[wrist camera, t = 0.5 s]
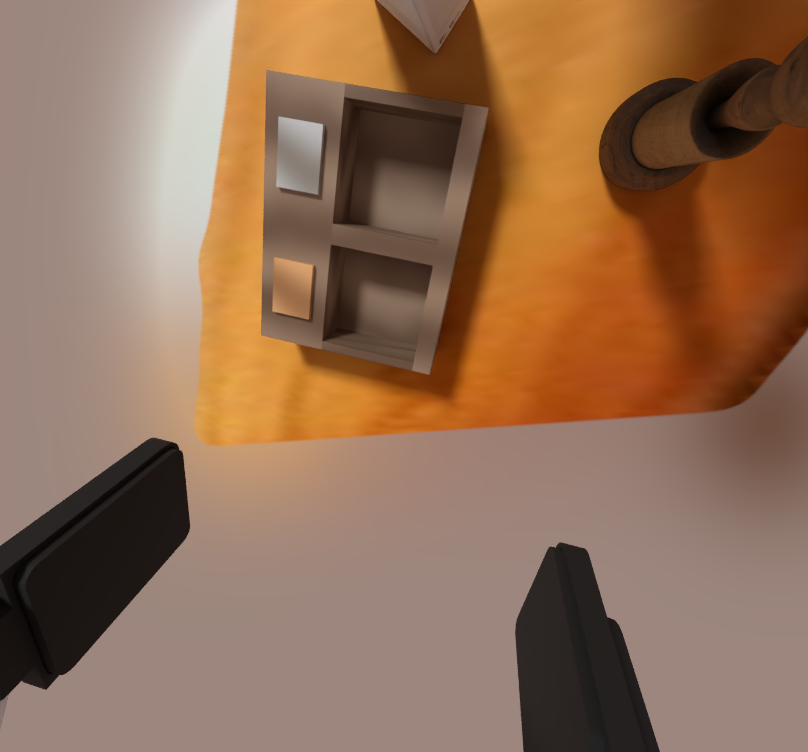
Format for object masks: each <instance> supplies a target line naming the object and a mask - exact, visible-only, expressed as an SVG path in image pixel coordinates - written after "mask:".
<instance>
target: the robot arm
mask: <svg viewBox="0 0 808 752" xmlns="http://www.w3.org/2000/svg"><path fill="white" fill-rule="evenodd" d="M189 521H190V520H189V510H188V500H187V490H186V479H185V470H184V459H183V453H182V451H180V450H179V447H178V445H177V444H176V443H173V442H169V441H165V440H161V439H157V438H151V439H149V440H147V441H145V442H144V443H142V444H141V445H140V446H138V447H137V448H135V449H134V450H133V451H131V452H130V453H129V454H127V455H126V456H124V457H123V458H122V459H120V460H119V461H117V462H116V463H115V464H113V465H112V466H110V467H109V468H108V469H106V470H105V471H104V472H102V473H101V474H99V475H98V476H97V477H95V478H94V479H92V480H91V481H90V482H88V483H87V484H86V485H84V486H83V487H81V488H80V489H79V490H78V491H76V492H74V493H73V494H72V495H70V496H69V497H67V498H66V499H65V500H63V501H62V502H61V503H59V504H58V505H56V506H55V507H54V508H52V509H51V510H49V512H47V513H45V514H44V515H42V516H41V517H40V518H38V519H37V520H36V521H34V522H33V523H32V524H30V525H29V526H27V527H26V528H25V529H23V530H22V531H20V532H19V533H18V534H16V535H15V536H13V537H12V538H11V539H9V540H8V541H7V542H5V543H4V544H2V545H1V546H0V728H1V724H2V720H3V716H4V712H5V707H6V703H7V699H8V695H9V693H10V692H11V691H12V690H13V689H14V688H15V687H16V686H17V685H18V684H19V683H20V681H23V682H25V683H28V684H30V685H33V686H36V687H39V688H42V689H45V690H46V689H47V688H48V687H49V686H50V685H51V684H52V682H54V680H55V679H56V678H57V677H58V676H59V675H63V674H65V673H67V672H68V671H70V670H71V669H72V668H73V667H74V666H75V665H76V664H77V662H78V661H79V660H80V659H81V658H82V657H83V656H84V654H85V653H86V652H87V651H88V650H89V649H90V648H91V647H92V645H93V644H94V643H95V642H96V641H97V640H98V639H99V637H100V636H101V635H102V634H103V633H104V632H105V631H106V629H107V628H108V627H109V626H110V625H111V624H112V623H113V621H114V620H115V619H116V618H117V617H118V616H119V615H120V613H121V612H122V611H123V610H124V609H125V608H126V606H127V605H128V604H129V603H130V602H131V601H132V600H133V598H134V597H135V596H136V595H137V594H138V593H139V592H140V590H141V589H142V588H143V587H144V586H145V585H146V584H147V582H148V581H149V580H150V579H151V578H152V577H153V576H154V574H155V573H156V572H157V571H158V570H159V569H160V568H161V566H162V565H163V564H164V563H165V562H166V561H167V560H168V558H169V557H170V556H171V555H172V554H173V553H174V551H175V550H176V549H177V548H178V547H179V546H180V545H181V544H182V542H183V541H184V540H185V539H186V537H187V535H188V533H189V529H190V522H189ZM515 636H516V649H517V664H518V677H519V692H520V706H521V721H522V735H523V749H524V752H660V751H659V748H658V744H657V742H656V738H655V735H654V732H653V729H652V726H651V722H650V719H649V716H648V713H647V710H646V706H645V703H644V700H643V697H642V694H641V691H640V688H639V685H638V681H637V678H636V675H635V672H634V668H633V665H632V662H631V659H630V656H629V653H628V649H627V646H626V643H625V640H624V637H623V634H622V631H621V629H620V627H619V625H618V624H617V622H616V621H615V620H613V619H611V618H608V617H607V615H606V612H605V609H604V605H603V602H602V598H601V595H600V591H599V588H598V585H597V581H596V578H595V574H594V571H593V567H592V564H591V561H590V557H589V554H588V552H587V550H586V549H584V548H580V547H577V546H573V545H568V544H565V543H559V544H558V545H557V546H556V548H555V547H549V548H548V550H547V552H546V555H545V557H544V559H543V561H542V564H541V566H540V568H539V570H538V573H537V575H536V577H535V579H534V582H533V584H532V586H531V588H530V591H529V593H528V595H527V597H526V600H525V602H524V604H523V606H522V609H521V611H520V613H519V615H518V618H517V622H516V630H515Z"/></svg>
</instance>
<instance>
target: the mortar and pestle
mask: <svg viewBox="0 0 808 752" xmlns="http://www.w3.org/2000/svg"><path fill="white" fill-rule="evenodd" d="M783 122H784V123H786V124H789V125H791V126H795V127H801V128H808V37H807V38H806V39H805V40H803V41H802V42H801V43H800V44H799V45H798V46H797V47H796V48H794V50H793V51H792V52H791V53H790V54H789V55H788V56H787V57H786V59H785V60H784V61H783V63H782V64H781V65H775V64H773V63H772V62H770V61H767V60H764V59H759V58H752V59H745V60H741V61H738V62H735V63H733V64H731V65H729V66H727V67H725V68H723V69H721V70H720V71H718V72H716V73H714V74H712V75H711V76H709V77H707V78H705V79H704V80H702V81H700V82H698V83H697V82H695V81H692V80H689V79H684V78H670V79H665V80H661V81H658V82H655V83H653V84H650V85H648V86H647V87H645V88H643V89H642V90H640V91H638V92H637V93H635V94H634V95H632V96H631V97H629V98H628V99H627V100H626V101H625V102H623V103H622V104H621V105H620V106H619V107H618V108H617V110H616V111H615V112H614V113H613V115H612V116H611V117H610V119H609V121H608V122H607V124H606V126H605V128H604V131H603V133H602V136H601V140H600V146H599V158H600V163H601V166H602V169H603V171H604V173H605V175H606V176H607V177H608V179H609V180H610V181H611V182H613V183H614V184H615V185H617V186H619V187H621V188H624V189H628V190H636V191H641V190H655V189H660V188H664V187H667V186H670V185H672V184H674V183H676V182H678V181H680V180H682V179H683V178H685V177H686V176H687V175H689V174H690V173H691V172H692V171H693V170H694V169H695V168H696V167H697V166H698V165H699V164H700V163H701V162H708V161H716V160H724V159H730V158H735V157H738V156H741V155H743V154H745V153H747V152H749V151H750V150H752V149H753V148H755V147H756V146H758V145H759V144H760V143H761V142H762V141H763V140H764V139H765V138H766V137H767V136H768V135H769V134H770V133H771V132H772V130H773V129H774V128H775V127H776V126H778V125H779V124H781V123H783Z"/></svg>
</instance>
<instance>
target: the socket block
mask: <svg viewBox="0 0 808 752" xmlns="http://www.w3.org/2000/svg"><path fill="white" fill-rule="evenodd" d="M487 123H488V107H482V106H476V105H470V104H464V103H458V102H452V101H446V100H440V99H434V98H428V97H423V96H417V95H411V94H405V93H399V92H393V91H387V90H381V89H375V88H369V87H363V86H358V85H352V84H346V83H340V82H334V81H328V80H322V79H316V78H310V77H304V76H298V75H293V74H287V73H281V72H275V71H269V70H267V72H266V121H265V171H264V221H263V271H262V320H261V335H262V336H266V337H270V338H274V339H279V340H283V341H287V342H291V343H296V344H300V345H304V346H308V347H313V348H317V349H321V350H326V351H330V352H334V353H338V354H343V355H347V356H351V357H355V358H360V359H364V360H368V361H372V362H377V363H381V364H385V365H389V366H394V367H398V368H402V369H406V370H411V371H415V372H419V373H424V374H428V375H430V372H431V368H432V365H433V362H434V359H435V355H436V351H437V347H438V342H439V338H440V333H441V329H442V324H443V320H444V316H445V311H446V307H447V302H448V298H449V293H450V289H451V284H452V280H453V275H454V271H455V266H456V262H457V257H458V253H459V248H460V244H461V239H462V235H463V230H464V226H465V221H466V217H467V212H468V208H469V204H470V199H471V195H472V190H473V186H474V181H475V177H476V172H477V168H478V163H479V159H480V154H481V150H482V145H483V141H484V136H485V132H486V127H487Z"/></svg>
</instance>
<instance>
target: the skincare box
mask: <svg viewBox="0 0 808 752" xmlns="http://www.w3.org/2000/svg"><path fill="white" fill-rule="evenodd" d="M377 1H378V2H379V3H380V4H381V5H382V6H383V7H384V8H385V9H387V10H388V11H389V12H390V13H391V14H392V15H393V16H394V17H395V18H396V19H397V20H398V21H399V22H401V23H402V24H403V25H404V26H405V27H406V28H407V29H408V30H409V31H410V32H411V33H412V34H414V35H415V36H416V37H417V38H418V39H419V40H420V41H421V42H422V43H423V44H424V45H425V46H426V47H428V48H429V49H430V50H431V51H432V52H433V53H437V52H438V50H439V49H440V47H441V45H442V44H443V42H444V41H445V39H446V37H447V36H448V34H449V33H450V31H451V29H452V28H453V26H454V25H455V23H456V21H457V20H458V18H459V17H460V15H461V14H462V12H463V10H464V9H465V7H466V5H467V4H468V2H469V0H377Z"/></svg>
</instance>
